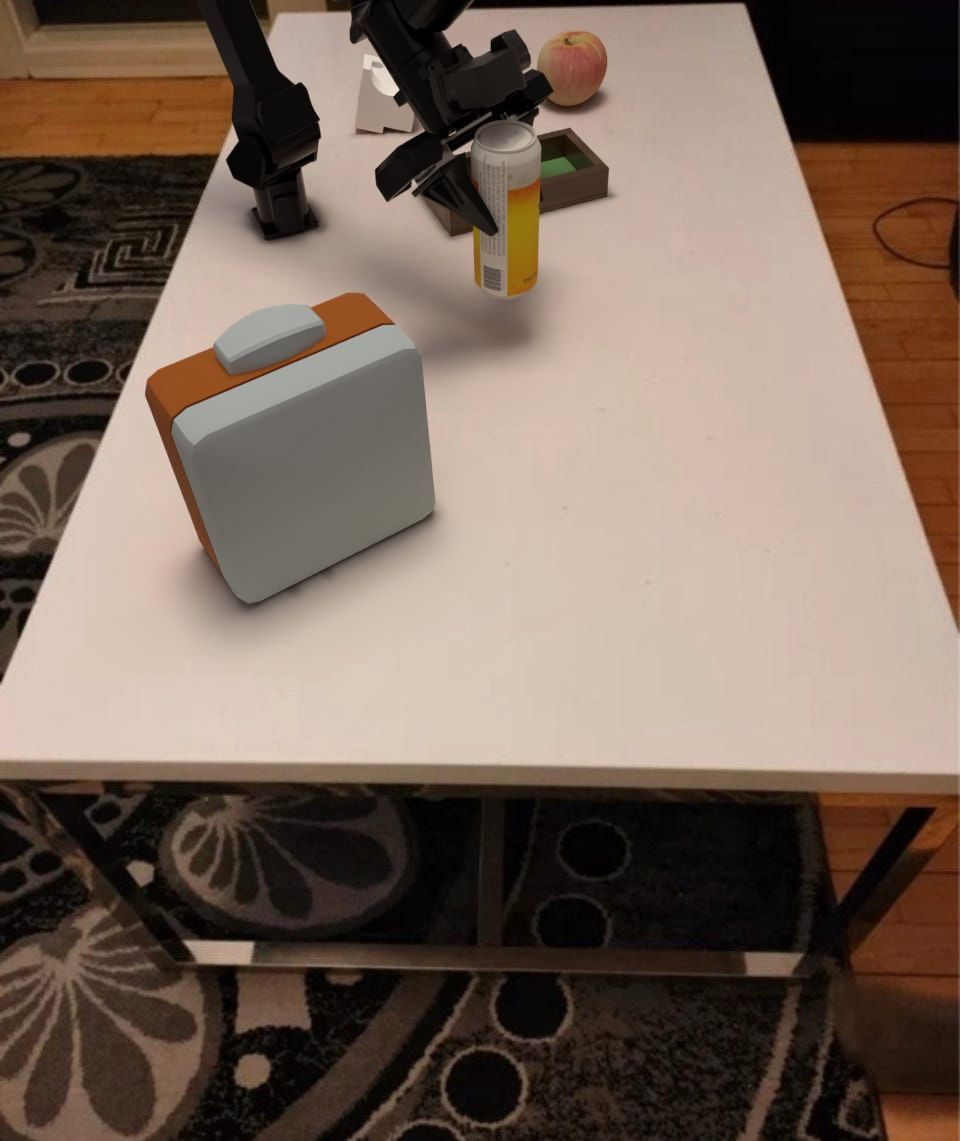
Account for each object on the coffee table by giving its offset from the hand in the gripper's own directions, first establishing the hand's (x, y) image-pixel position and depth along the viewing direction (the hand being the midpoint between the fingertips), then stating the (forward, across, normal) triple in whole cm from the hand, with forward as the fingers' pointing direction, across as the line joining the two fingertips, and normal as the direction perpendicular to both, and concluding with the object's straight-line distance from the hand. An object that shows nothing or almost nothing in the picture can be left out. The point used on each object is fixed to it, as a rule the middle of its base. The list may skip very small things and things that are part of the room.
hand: (517, 219), depth 91 cm
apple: (-9, +43, +28) cm, 52 cm away
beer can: (+4, 0, +6) cm, 8 cm away
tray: (-3, +20, +22) cm, 30 cm away
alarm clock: (+12, -30, +7) cm, 34 cm away
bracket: (-21, +27, +41) cm, 53 cm away
